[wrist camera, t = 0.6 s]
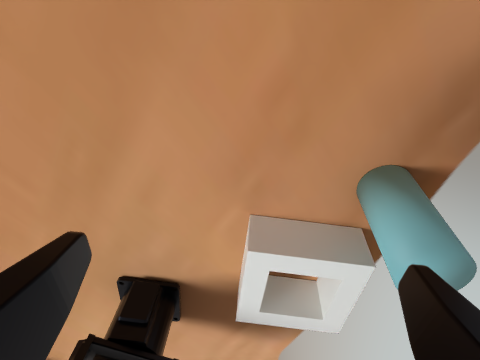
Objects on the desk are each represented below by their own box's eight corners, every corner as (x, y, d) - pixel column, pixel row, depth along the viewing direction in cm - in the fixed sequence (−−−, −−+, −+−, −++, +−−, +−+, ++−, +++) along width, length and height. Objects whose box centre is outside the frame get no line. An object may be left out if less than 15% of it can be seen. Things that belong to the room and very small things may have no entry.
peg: (399, 210, 23) (451, 302, 17) (349, 204, 23) (382, 293, 17) (422, 168, 21) (493, 255, 15) (367, 162, 21) (413, 245, 15)
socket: (330, 294, 30) (338, 333, 27) (239, 283, 30) (235, 321, 27) (361, 228, 25) (376, 267, 21) (250, 214, 25) (247, 251, 21)
